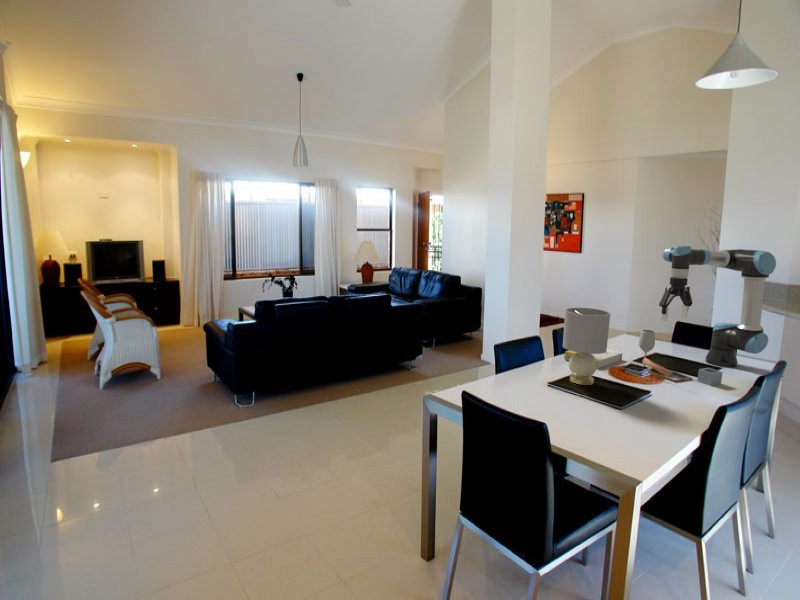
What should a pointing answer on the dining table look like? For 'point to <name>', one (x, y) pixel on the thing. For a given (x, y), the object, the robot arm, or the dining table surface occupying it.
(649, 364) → the tan rounded bar
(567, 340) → the lamp
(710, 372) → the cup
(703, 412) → the dining table surface
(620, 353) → the cereal box
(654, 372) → the tray
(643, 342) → the wineglass
